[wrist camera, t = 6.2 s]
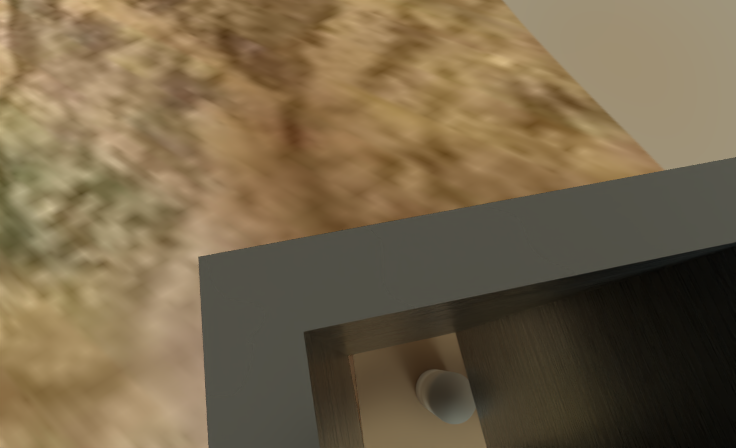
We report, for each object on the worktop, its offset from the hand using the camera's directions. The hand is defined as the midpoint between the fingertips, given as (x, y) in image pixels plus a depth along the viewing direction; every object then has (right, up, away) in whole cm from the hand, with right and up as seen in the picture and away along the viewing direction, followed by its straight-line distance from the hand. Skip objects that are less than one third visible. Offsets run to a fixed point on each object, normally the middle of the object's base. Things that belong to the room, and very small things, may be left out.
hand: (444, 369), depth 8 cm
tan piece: (+2, -6, +12) cm, 14 cm away
